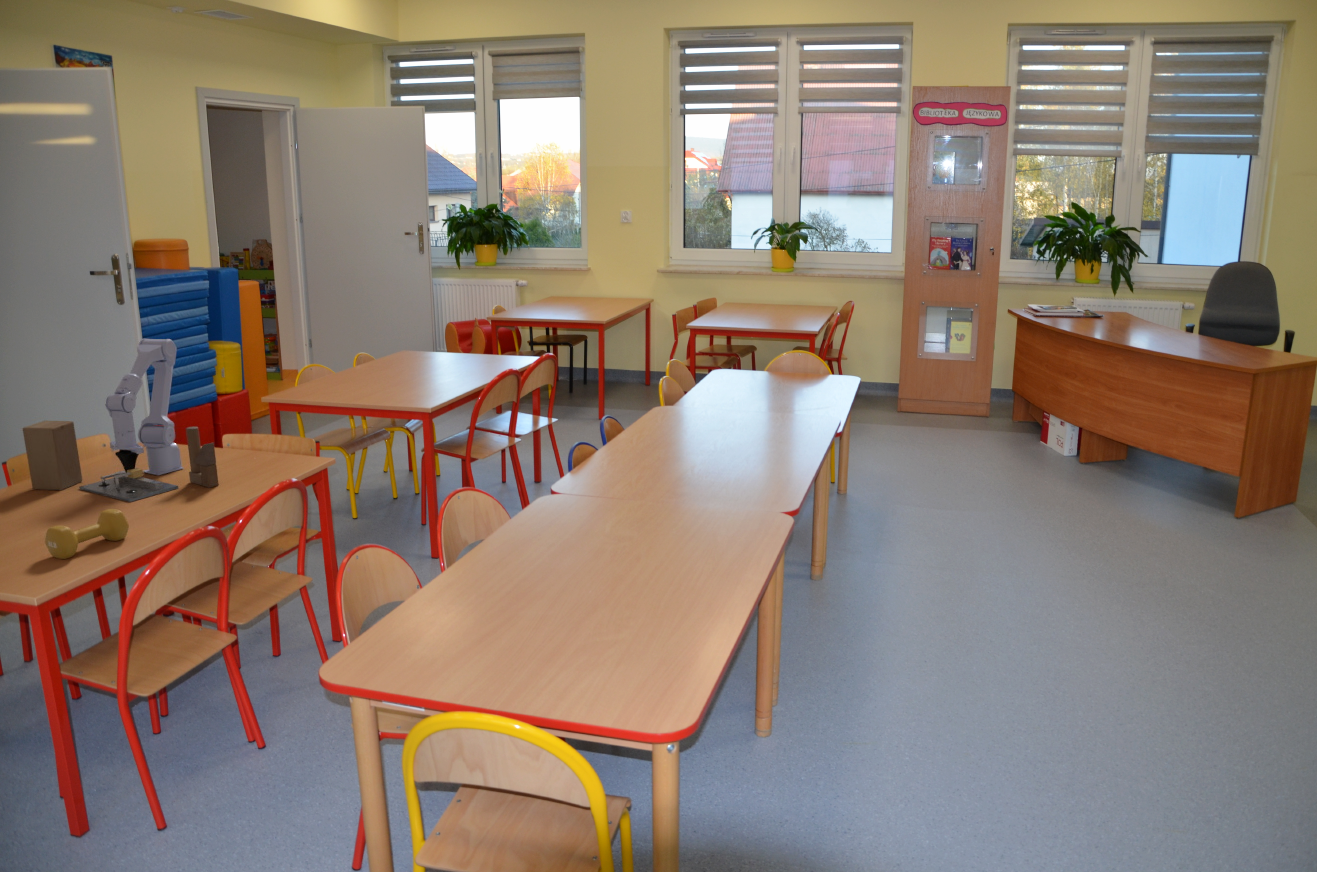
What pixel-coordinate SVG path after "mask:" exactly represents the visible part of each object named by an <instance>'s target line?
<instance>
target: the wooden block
mask: <svg viewBox="0 0 1317 872" xmlns="http://www.w3.org/2000/svg"><path fill="white" fill-rule="evenodd" d="M74 423H75V422H74V421H72V420H42V421H39V422H37V423H33V424H30V425H28V426H24V427H22V433H23V434H22V435H23V440H24V445H25V446H24V447H25V451H26V457H27V463H28V469H29V475H30V481H31V482H30V483H31V487H32V490H43V491H45V490H47V491H63V490H65V489H68V488H69V487H72V486H74V485H76V484H79V483H81V482H83V475H82V468H81V462H80V456H79V447H78V443H77V442H78V441H77V436H76V435H77V434H76V429H75V424H74Z"/></svg>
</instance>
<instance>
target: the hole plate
mask: <svg viewBox="0 0 1317 872" xmlns="http://www.w3.org/2000/svg"><path fill="white" fill-rule="evenodd" d="M124 473H126V472H125V470H119V471H117V472H115V471H114V472H113V473H111V474H106V475H103V476H100V479H101V480H100V481H99V480H98V481H96V482H93V483H88V484H84V485H80V486H79V488H78V489H79V490H81V491H85V492H89V493H92V494H96V495H101V496H105V497H109V498H113V499H117V500H120V501H125V502H128V503H132V502H135V501H139V500H142V499H146V498H149V497H152V496H157V495H160V494H163V493H166V492H170V491H173V490H177V489H179V485H176V484H172V483H169V482H165V481H164V482H163V481H159V480H155V479H151V478H146V477H143V476H141V477H138V478H129V477H128V475H127V476H123V477H119V478H118V479H119V485H120V487H116V481H115V478H114V476H116V475H120V474H124Z"/></svg>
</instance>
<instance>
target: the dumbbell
mask: <svg viewBox="0 0 1317 872" xmlns="http://www.w3.org/2000/svg"><path fill="white" fill-rule="evenodd" d="M128 531H129V522H128V520H127V518H126V516H125V514H124V512H122V511H121V510H119V509H115V508H108V509H105V510H102V511H101V512H100V514H99V516H98V519H97V522H96V523H95V524H92V525H91V524H90V525H88V526H85V527H82V528H80V529H77V530H72V528H70V527H69V526H65V525H60V524H58V525H54V526H51V527H48V529H47V530H46V534H45V537H44V542H45V543H44V544H45V546H46V548H47V550H48V551H49V554H50V555H51V556H52V557H53V558H56V559H59V560H66V559H69V558H71V557H73V556H74V555H75V554H76V553H77V549H78V545H79V544H81V543H84V542H86V541H90V540H92V539H95V538H98V537H101V536H102V538H103V539H105V540H108V541H114V542H116V541H117V542H119V541H120V540H121V541H122V540H124V539H125V538H126V537H127V535H128Z"/></svg>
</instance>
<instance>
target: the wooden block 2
mask: <svg viewBox="0 0 1317 872" xmlns="http://www.w3.org/2000/svg"><path fill="white" fill-rule="evenodd" d="M185 432H186V440H187V448H188V457H189V464H190V471H188V475H189V482H190V483H192V484H195V485H198V486H202V487H204V488H208V489H209V488H213V487H217V486H219V485H220V484H219V476H218V469H217V458H216V450H215V442H210V443H205V444H202V446H201V439H200V431H199V427H198V426H188V427H186V428H185Z"/></svg>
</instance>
